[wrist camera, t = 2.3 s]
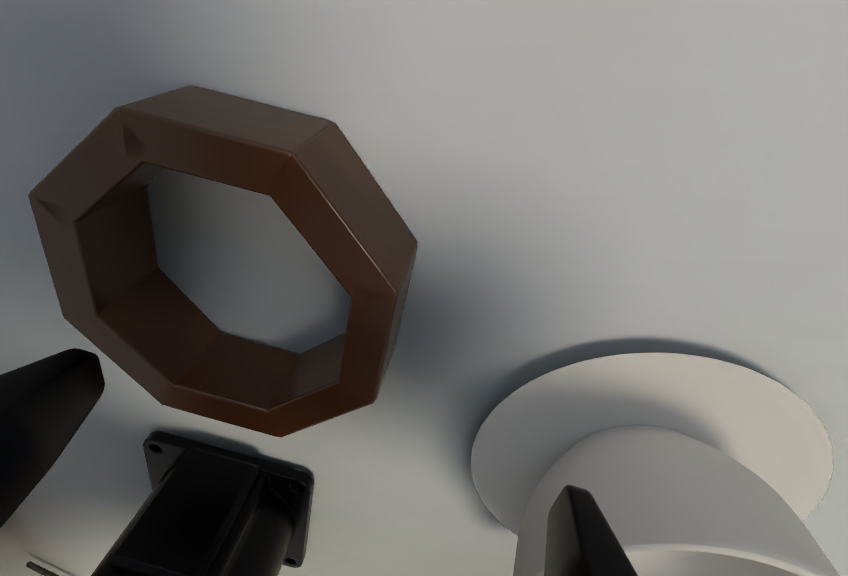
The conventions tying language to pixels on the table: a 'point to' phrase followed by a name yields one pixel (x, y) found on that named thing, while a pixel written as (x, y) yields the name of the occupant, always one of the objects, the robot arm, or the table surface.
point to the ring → (171, 310)
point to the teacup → (662, 464)
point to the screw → (40, 569)
